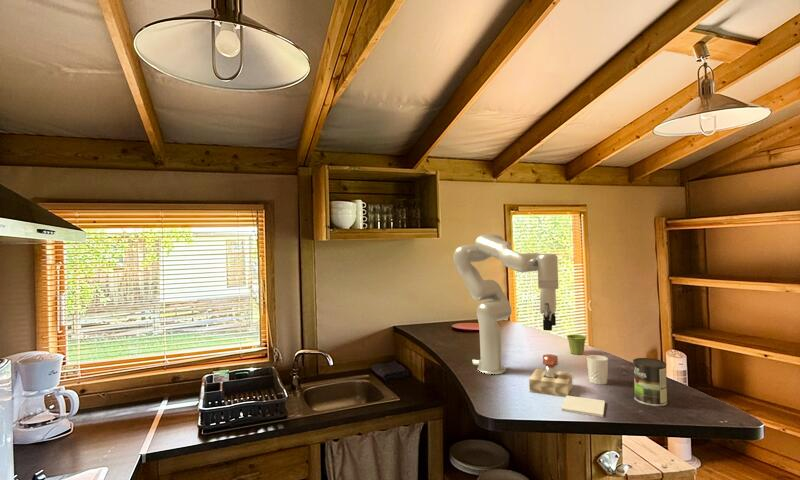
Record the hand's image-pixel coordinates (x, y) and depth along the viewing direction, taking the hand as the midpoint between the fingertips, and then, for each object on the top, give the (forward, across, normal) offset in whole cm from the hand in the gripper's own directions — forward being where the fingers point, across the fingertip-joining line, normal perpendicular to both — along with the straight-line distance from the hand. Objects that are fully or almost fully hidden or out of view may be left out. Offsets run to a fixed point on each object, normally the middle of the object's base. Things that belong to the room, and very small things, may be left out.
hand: (549, 327), depth 166 cm
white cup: (+24, -15, +16) cm, 33 cm away
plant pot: (+24, -56, +4) cm, 61 cm away
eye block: (+24, 0, 0) cm, 24 cm away
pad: (+24, +14, +13) cm, 31 cm away
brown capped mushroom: (+24, 0, 0) cm, 24 cm away
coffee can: (+24, 0, +34) cm, 42 cm away
